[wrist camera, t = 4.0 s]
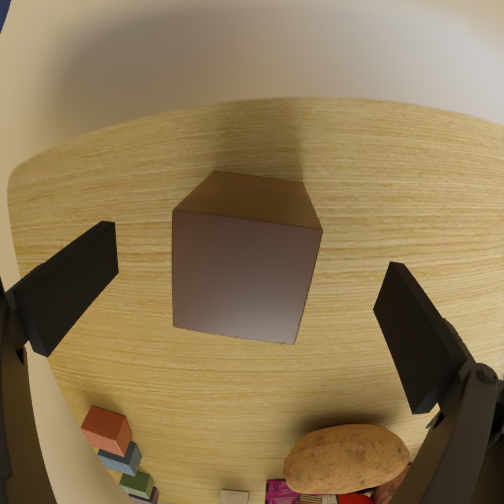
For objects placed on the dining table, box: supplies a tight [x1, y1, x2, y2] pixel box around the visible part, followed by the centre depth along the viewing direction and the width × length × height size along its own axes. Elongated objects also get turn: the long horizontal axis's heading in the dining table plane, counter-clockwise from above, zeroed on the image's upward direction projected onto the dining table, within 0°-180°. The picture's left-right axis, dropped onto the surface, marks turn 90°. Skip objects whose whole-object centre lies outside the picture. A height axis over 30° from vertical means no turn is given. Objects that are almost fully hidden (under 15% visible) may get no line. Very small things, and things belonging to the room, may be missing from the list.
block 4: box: [129, 487, 159, 504], centre depth 43 cm, size 5×5×4 cm
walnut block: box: [172, 171, 323, 345], centre depth 15 cm, size 6×6×8 cm
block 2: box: [98, 442, 142, 476], centre depth 34 cm, size 5×5×4 cm
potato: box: [283, 424, 410, 494], centre depth 25 cm, size 10×14×8 cm
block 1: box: [81, 406, 132, 457], centre depth 30 cm, size 5×5×4 cm
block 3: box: [119, 472, 154, 499], centre depth 40 cm, size 5×5×4 cm
